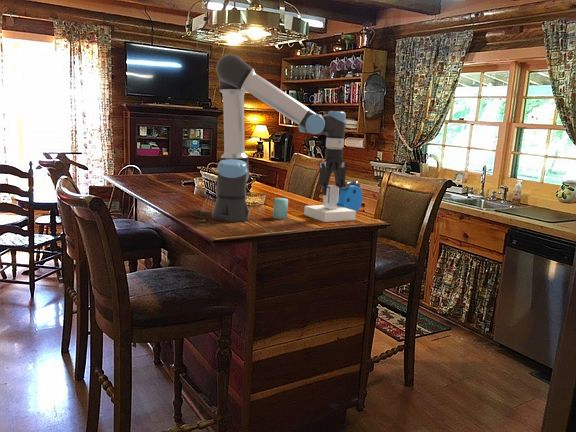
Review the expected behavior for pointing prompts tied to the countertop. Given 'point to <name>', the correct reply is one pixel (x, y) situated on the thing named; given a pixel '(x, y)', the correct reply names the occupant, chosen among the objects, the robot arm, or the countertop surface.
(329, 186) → the square bit
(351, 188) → the alarm clock
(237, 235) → the countertop surface
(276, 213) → the pale teal capsule
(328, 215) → the bore block
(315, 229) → the countertop surface
